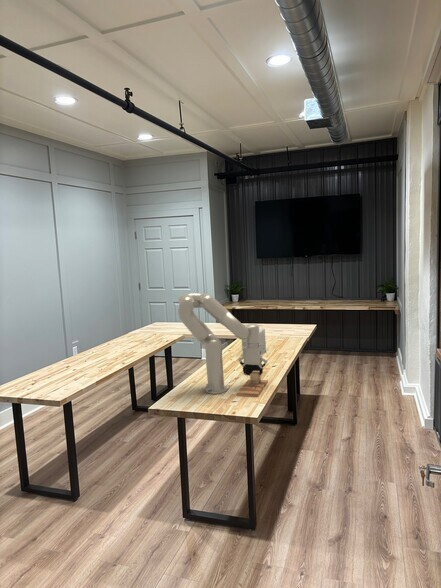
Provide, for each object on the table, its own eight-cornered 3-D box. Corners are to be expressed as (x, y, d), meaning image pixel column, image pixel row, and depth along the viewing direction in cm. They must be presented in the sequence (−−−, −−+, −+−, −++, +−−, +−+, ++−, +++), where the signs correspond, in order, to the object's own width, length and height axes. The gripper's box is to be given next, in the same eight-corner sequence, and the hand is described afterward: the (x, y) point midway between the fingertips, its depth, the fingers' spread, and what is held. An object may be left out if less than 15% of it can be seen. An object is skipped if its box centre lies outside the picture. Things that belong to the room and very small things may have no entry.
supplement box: (250, 350, 330) (248, 328, 328) (266, 351, 324) (265, 328, 322) (242, 356, 314) (240, 333, 312) (258, 357, 309) (257, 333, 307)
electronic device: (248, 372, 276) (247, 357, 275) (260, 374, 270) (259, 359, 268) (244, 374, 273) (243, 359, 272) (257, 376, 266) (256, 360, 265)
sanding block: (258, 384, 246) (257, 374, 245) (250, 384, 248) (249, 374, 247) (261, 380, 253) (260, 371, 252) (253, 380, 254) (253, 370, 253)
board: (257, 397, 231) (257, 394, 230) (236, 395, 235) (236, 393, 234) (267, 382, 253) (267, 380, 253) (248, 381, 257) (248, 379, 257)
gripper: (268, 344, 248) (268, 373, 250) (240, 343, 254) (240, 370, 256) (265, 347, 241) (265, 376, 243) (236, 345, 247) (236, 374, 249)
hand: (252, 373), depth 249 cm, fingers open, 9 cm apart
